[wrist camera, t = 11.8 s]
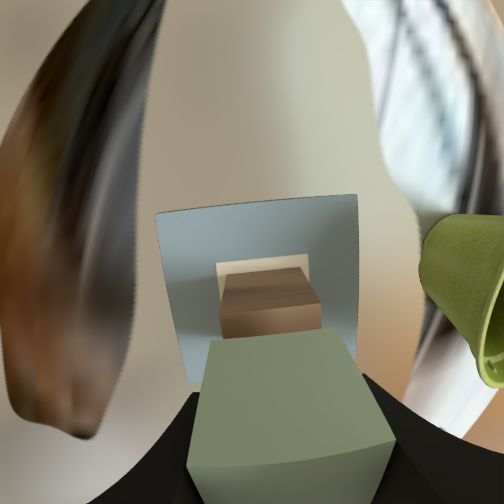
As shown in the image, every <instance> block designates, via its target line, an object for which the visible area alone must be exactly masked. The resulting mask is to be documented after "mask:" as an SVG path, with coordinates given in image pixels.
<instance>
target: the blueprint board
mask: <svg viewBox="0 0 504 504" xmlns="http://www.w3.org/2000/svg"><path fill="white" fill-rule="evenodd" d="M155 221H156V227H157V234H158V241H159V247H160V253H161V259H162V265H163V271H164V276H165V281H166V287H167V292H168V297H169V302H170V307H171V312H172V316H173V321H174V326H175V330H176V334H177V339H178V343H179V347H180V351H181V356H182V360H183V364H184V368H185V371H186V375H187V379H188V382H189V383H202V381H203V376H204V371H205V366H206V361H207V356H208V351H209V346H210V341H211V340H218V339H223V336H222V330H221V324H220V318H219V311H220V306H221V300H222V295H223V290H224V285H225V280H226V275H227V274H236V273H246V272H256V271H265V270H275V269H284V268H294V267H301V269H302V271H303V273H304V274H305V276H306V278H307V279H308V281H309V283H310V284H311V286H312V288H313V290H314V291H315V293H316V295H317V296H318V298H319V300H320V302H321V316H322V329H323V328H330V327H336V329H337V331H338V333H339V334H340V336H341V338H342V340H343V341H344V343H345V345H346V347H347V349H348V350H349V352H350V354H351V356H352V358H353V359H354V361H355V353H356V339H357V323H358V298H359V228H358V227H359V225H358V201H357V195H355V194H347V195H330V196H316V197H302V198H290V199H278V200H268V201H257V202H246V203H236V204H227V205H217V206H210V207H200V208H192V209H184V210H176V211H168V212H161V213H156V214H155Z"/></svg>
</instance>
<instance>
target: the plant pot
mask: <svg viewBox="0 0 504 504" xmlns="http://www.w3.org/2000/svg"><path fill="white" fill-rule="evenodd" d="M419 278H420V282H421V285H422V287H423V289H424V291H425V292H426V293H427V294H428V296H429V297H430V298H431V299H432V300H433V301H434V302H435V304H436V305H437V306H438V307H439V308H440V309H441V310H442V311H443V313H444V314H445V315H446V316H447V317H448V319H449V320H450V321H451V322H452V323H453V325H454V326H455V327H456V328H457V330H458V331H459V332H460V333H461V335H462V336H463V337H464V338H465V340H466V341H467V342H468V344H469V347H470V350H471V352H472V354H473V356H474V358H475V359H476V366H477V370H478V373H479V376H480V378H481V379H482V381H483V382H484V383H485V384H486V385H487V386H489V387H491V388H502V387H504V216H493V215H472V214H453V215H449V216H446V217H445V218H443V219H441V220H440V221H439V222H438V223H436V224H435V225H434V227H433V228H432V229H431V230H430V232H429V233H428V235H427V237H426V239H425V240H424V243H423V251H422V257H421V261H420V264H419Z"/></svg>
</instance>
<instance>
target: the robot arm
mask: <svg viewBox="0 0 504 504" xmlns="http://www.w3.org/2000/svg"><path fill="white" fill-rule="evenodd" d="M362 376H363V378H364V379H365V381H366V383H367V385H368V387H369V389H370V390H371V392H372V394H373V396H374V398H375V400H376V402H377V404H378V405H379V407H380V409H381V411H382V413H383V415H384V417H385V419H386V421H387V422H388V424H389V426H390V428H391V430H392V432H393V434H394V436H395V438H396V442H395V444H394V447H393V450H392V453H391V456H390V458H389V461H388V464H387V466H386V469H385V472H384V474H383V476H382V479H381V481H380V484H379V486H378V488H377V491H376V493H375V495H374V497H373V500H372V502H371V504H504V454H502V453H498V452H494V451H491V450H488V449H485V448H482V447H480V446H477V445H474V444H471V443H469V442H467V441H464V440H462V439H460V438H458V437H456V436H454V435H452V434H450V433H447V432H446V430H445V428H442V429H440V428H438V427H436V426H435V425H433V424H432V423H430V422H428V421H427V420H425V419H423V418H422V417H420V416H419V415H417V414H416V413H414V412H413V411H412V410H410V409H409V408H408V407H406V406H405V405H403V404H402V403H401V402H399V401H398V400H397V399H395V398H394V397H393V396H391V395H390V394H389V393H388V392H387V391H385V390H384V389H383V388H382V387H380V386H379V385H378V384H377V383H375V382H374V381H373V380H372V379H371V378H369V377H368V376H367V375H366V374H364V373H363V374H362ZM199 396H200V392H193V393H192V394H191V395H190V396H189V398H188V399H187V401H186V402H185V404H184V405H183V407H182V408H181V410H180V411H179V412H178V414H177V415H176V417H175V418H174V420H173V421H172V422H171V424H170V425H169V426H168V428H167V429H166V430H165V432H164V433H163V434H162V436H161V437H160V438H159V439H158V441H157V442H156V443H155V444H154V445H153V446H152V448H151V449H150V450H149V451H148V452H147V453H146V454H145V455H144V457H143V458H142V459H141V460H140V461H139V462H138V463H137V464H136V465H135V466H134V467H133V468H132V469H131V470H130V471H129V472H128V473H127V474H126V475H124V476H123V477H122V478H121V479H120V480H119V481H118V482H116V483H115V484H114V485H112V486H111V487H110V488H109V489H107V490H106V491H105V492H103V493H102V494H101V495H99V496H98V497H96V498H95V499H93V500H92V501H90V502H89V503H87V504H205V503H204V501H203V499H202V498H201V496H200V494H199V492H198V490H197V488H196V486H195V484H194V482H193V479H192V477H191V475H190V473H189V471H188V469H187V467H186V465H187V459H188V454H189V448H190V443H191V437H192V432H193V427H194V422H195V416H196V411H197V406H198V401H199Z"/></svg>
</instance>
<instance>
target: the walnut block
mask: <svg viewBox="0 0 504 504" xmlns="http://www.w3.org/2000/svg"><path fill="white" fill-rule="evenodd" d="M219 318H220V324H221V330H222V336H223V339H232V338H244V337H255V336H265V335H275V334H284V333H292V332H300V331H308V330H316V329H322V316H321V302H320V300H319V298H318V296H317V295H316V293H315V291H314V290H313V288H312V286H311V284H310V283H309V281H308V279H307V278H306V276H305V274H304V273H303V271H302V269H301V267H294V268H284V269H275V270H265V271H256V272H246V273H236V274H227V275H226V280H225V285H224V290H223V295H222V300H221V306H220V311H219Z"/></svg>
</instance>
